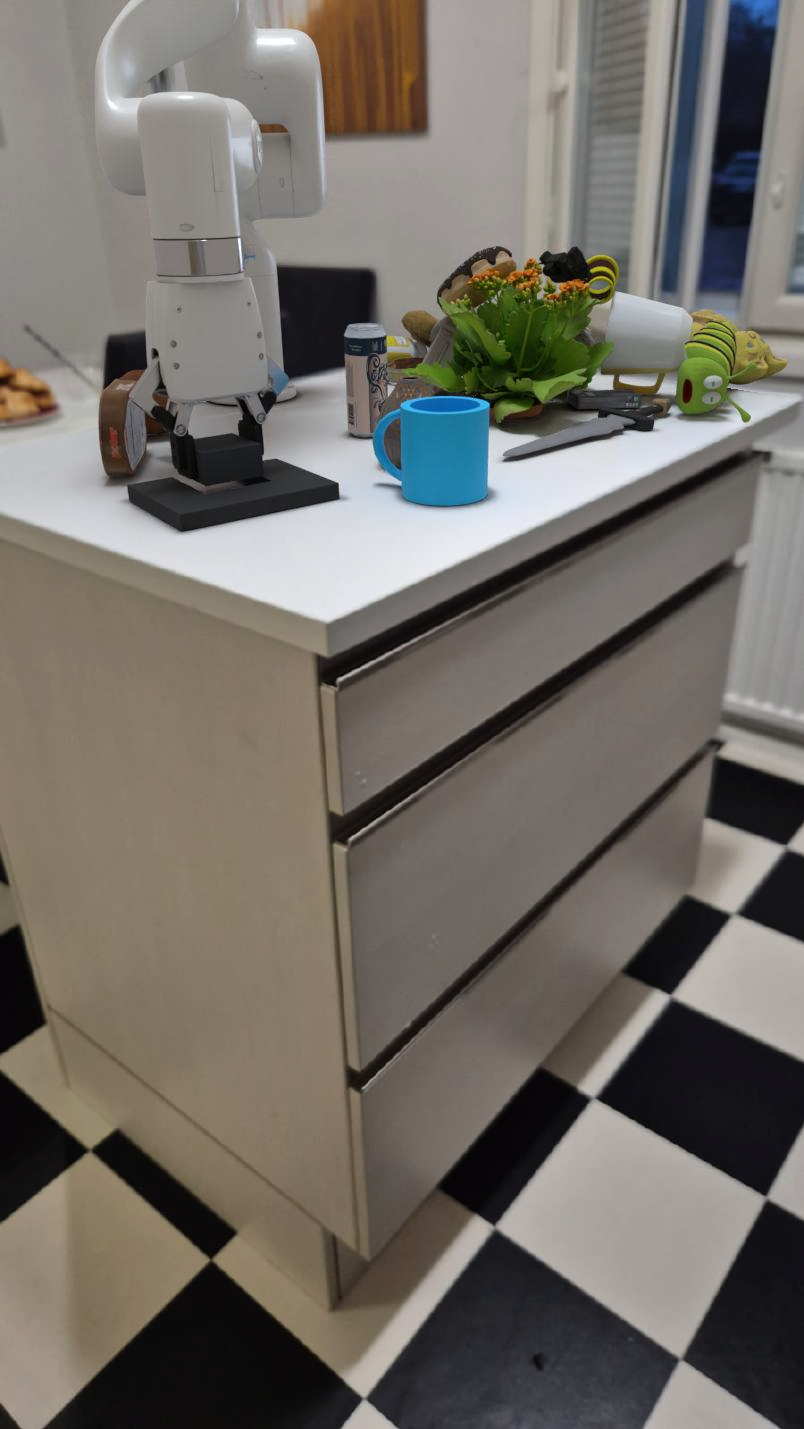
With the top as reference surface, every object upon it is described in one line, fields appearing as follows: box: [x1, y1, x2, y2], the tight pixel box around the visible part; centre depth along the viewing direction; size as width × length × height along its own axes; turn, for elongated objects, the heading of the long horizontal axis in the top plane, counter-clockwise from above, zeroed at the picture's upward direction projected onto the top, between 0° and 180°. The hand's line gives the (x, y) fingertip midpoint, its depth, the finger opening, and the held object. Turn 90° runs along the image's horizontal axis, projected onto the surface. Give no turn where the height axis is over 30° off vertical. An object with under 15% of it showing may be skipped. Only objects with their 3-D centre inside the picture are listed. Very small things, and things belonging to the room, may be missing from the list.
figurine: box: [678, 308, 788, 386], centre depth 139 cm, size 11×9×15 cm
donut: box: [436, 245, 518, 316], centre depth 126 cm, size 11×12×4 cm
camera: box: [422, 305, 480, 397], centre depth 136 cm, size 11×6×10 cm
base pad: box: [126, 457, 340, 532], centre depth 93 cm, size 12×16×2 cm
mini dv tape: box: [567, 389, 642, 410], centre depth 128 cm, size 8×2×6 cm
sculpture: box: [400, 309, 439, 349], centre depth 154 cm, size 13×4×15 cm
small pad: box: [191, 432, 264, 487], centre depth 93 cm, size 6×6×3 cm
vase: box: [378, 376, 434, 469], centre depth 101 cm, size 7×7×9 cm
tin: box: [97, 378, 148, 477], centre depth 103 cm, size 15×3×8 cm, turn 5°
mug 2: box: [600, 290, 693, 396], centre depth 129 cm, size 14×10×10 cm
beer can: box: [343, 322, 389, 438], centre depth 113 cm, size 5×5×12 cm
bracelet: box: [387, 356, 425, 384], centre depth 146 cm, size 9×9×3 cm
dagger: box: [502, 398, 672, 458], centre depth 113 cm, size 8×32×2 cm, turn 143°
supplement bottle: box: [387, 335, 428, 364], centre depth 150 cm, size 5×5×10 cm
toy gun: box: [538, 245, 593, 284], centre depth 123 cm, size 20×3×6 cm
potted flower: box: [402, 258, 614, 424], centre depth 122 cm, size 25×24×18 cm
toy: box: [675, 320, 757, 424], centre depth 127 cm, size 8×28×10 cm
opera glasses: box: [558, 254, 620, 318], centre depth 127 cm, size 10×5×5 cm
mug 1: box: [372, 395, 490, 507], centre depth 93 cm, size 12×8×8 cm
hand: (220, 468), depth 94 cm, fingers closed on small pad, 6 cm apart
